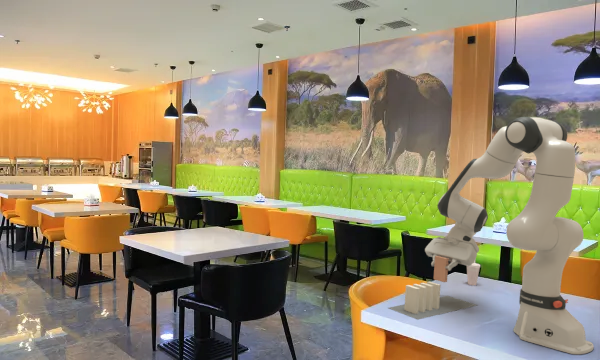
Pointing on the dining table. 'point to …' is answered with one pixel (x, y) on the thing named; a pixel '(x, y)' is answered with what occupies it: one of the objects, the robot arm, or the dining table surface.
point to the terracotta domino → (440, 269)
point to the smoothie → (473, 273)
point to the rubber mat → (445, 306)
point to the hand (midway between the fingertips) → (440, 267)
